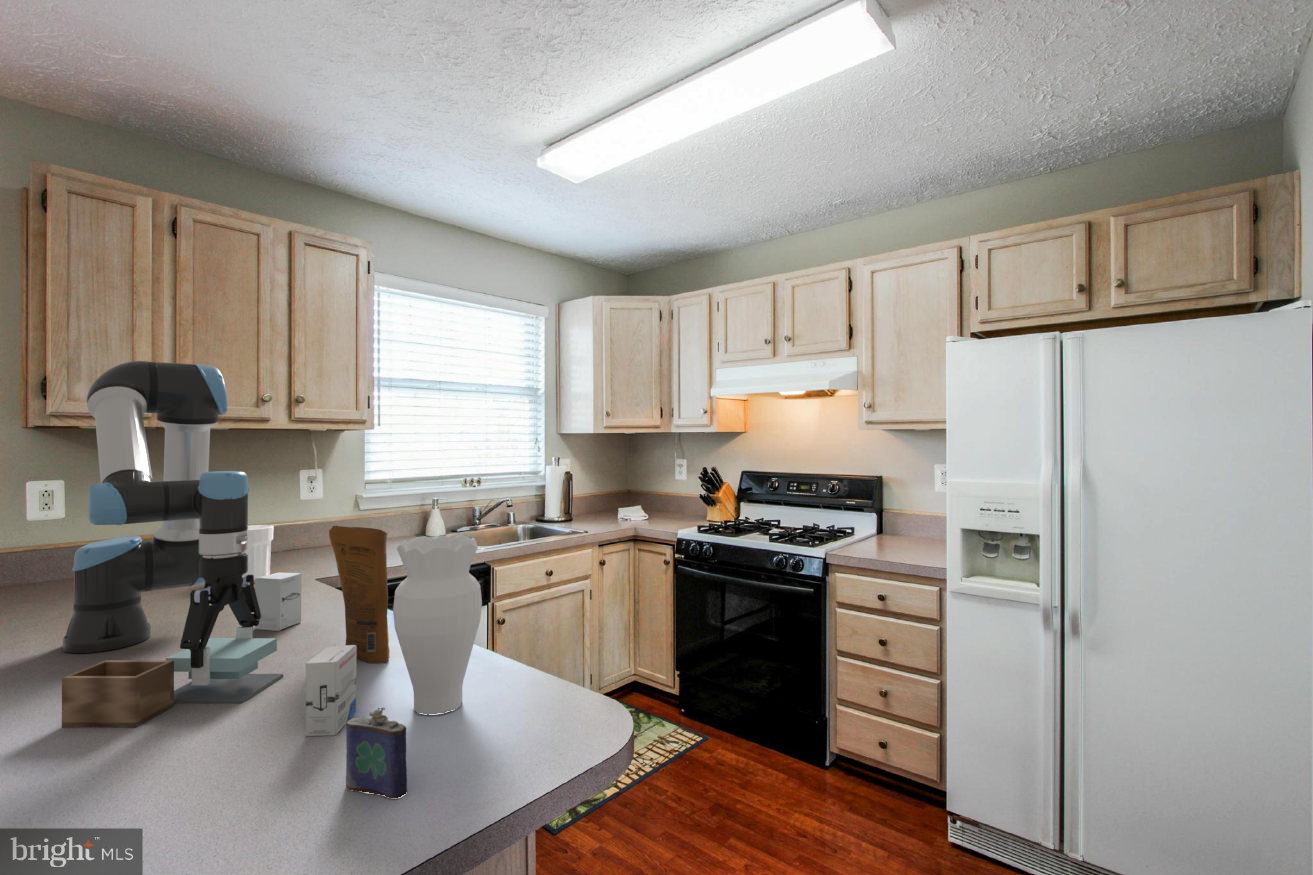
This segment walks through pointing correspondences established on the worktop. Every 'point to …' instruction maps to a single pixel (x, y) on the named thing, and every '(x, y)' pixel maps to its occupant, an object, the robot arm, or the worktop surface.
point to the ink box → (330, 690)
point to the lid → (229, 656)
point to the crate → (117, 693)
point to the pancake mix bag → (363, 589)
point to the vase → (437, 618)
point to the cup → (259, 550)
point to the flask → (376, 755)
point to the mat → (225, 689)
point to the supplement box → (278, 600)
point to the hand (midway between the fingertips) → (223, 672)
